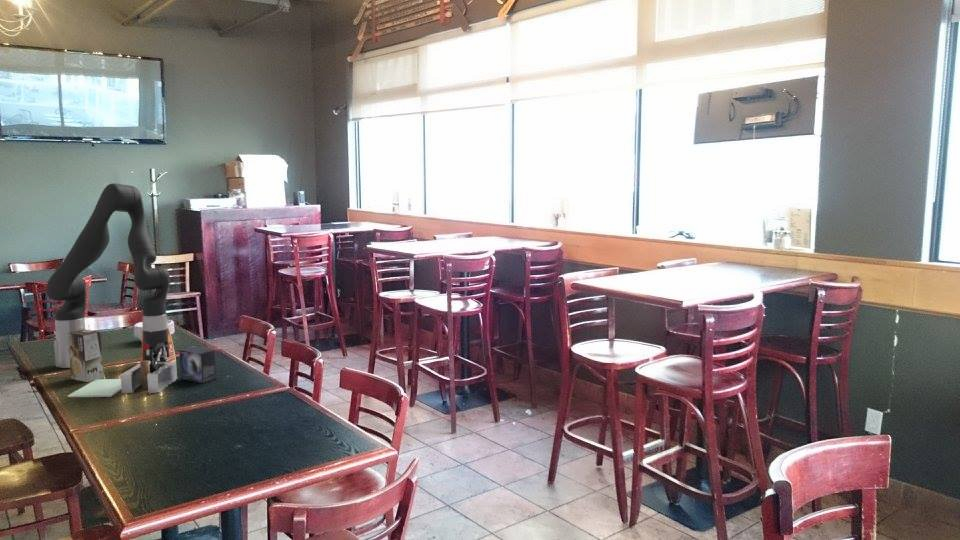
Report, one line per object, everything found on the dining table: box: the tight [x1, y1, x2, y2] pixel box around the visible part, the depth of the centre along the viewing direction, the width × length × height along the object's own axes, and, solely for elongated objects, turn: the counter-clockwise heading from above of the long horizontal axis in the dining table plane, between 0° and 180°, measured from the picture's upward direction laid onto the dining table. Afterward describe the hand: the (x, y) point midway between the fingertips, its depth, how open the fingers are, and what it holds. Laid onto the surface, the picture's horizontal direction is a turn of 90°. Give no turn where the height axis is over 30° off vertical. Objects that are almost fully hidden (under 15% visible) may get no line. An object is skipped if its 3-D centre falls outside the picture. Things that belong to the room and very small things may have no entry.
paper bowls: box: [133, 319, 175, 343], centre depth 291 cm, size 15×15×8 cm
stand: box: [139, 360, 150, 391], centre depth 225 cm, size 3×3×9 cm
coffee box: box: [67, 328, 105, 383], centre depth 236 cm, size 9×6×16 cm
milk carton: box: [141, 313, 177, 363], centre depth 254 cm, size 9×9×20 cm
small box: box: [178, 345, 218, 384], centre depth 235 cm, size 11×6×10 cm, turn 62°
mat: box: [67, 378, 122, 398], centre depth 226 cm, size 13×18×1 cm
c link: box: [120, 361, 178, 394], centre depth 228 cm, size 15×11×6 cm
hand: (158, 375), depth 234 cm, fingers open, 8 cm apart
